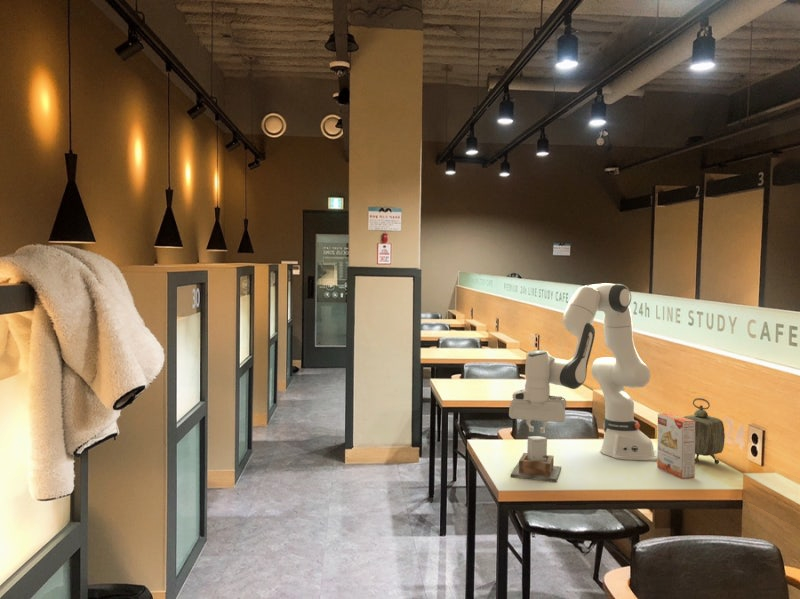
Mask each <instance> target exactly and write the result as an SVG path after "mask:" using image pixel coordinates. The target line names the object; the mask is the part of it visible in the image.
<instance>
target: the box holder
mask: <svg viewBox="0 0 800 599" xmlns="http://www.w3.org/2000/svg"><path fill="white" fill-rule="evenodd" d="M554 458H555V457H554V455H551V454H550V455H549V454H547V462H539V461H530V460H527V452H523V453H522V455H521V457H520V458H519V461H518V462H517V464H515V467H514V468H513V470H512V472H511V473H510V478H516V477H518V478H519V479H527V480H535V481H544V482H552V483H553V482H554V483H557V482H558V478H559V475H560V473H561V471H560V470H562V466H560V465H554Z"/></svg>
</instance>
